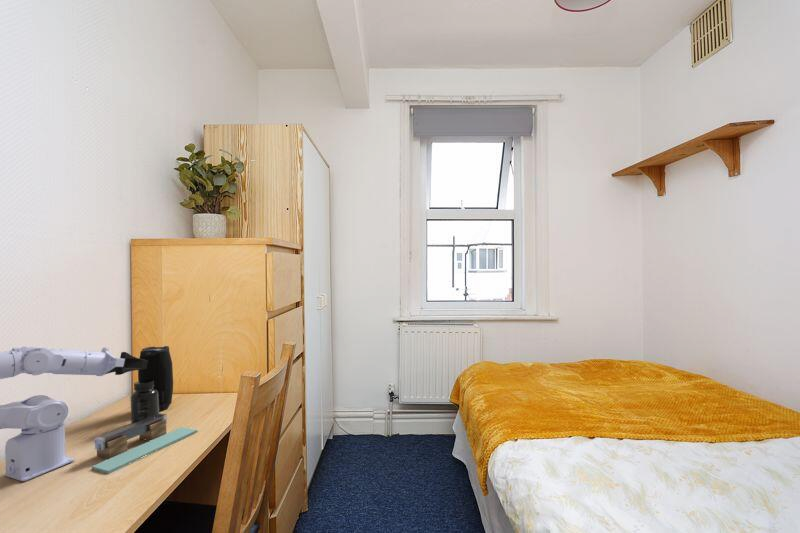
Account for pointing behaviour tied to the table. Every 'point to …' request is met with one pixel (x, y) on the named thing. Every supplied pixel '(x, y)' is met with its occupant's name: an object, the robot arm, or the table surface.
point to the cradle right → (155, 431)
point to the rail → (128, 431)
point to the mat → (143, 450)
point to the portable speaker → (158, 373)
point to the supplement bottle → (144, 401)
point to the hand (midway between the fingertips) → (138, 365)
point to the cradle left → (113, 448)
